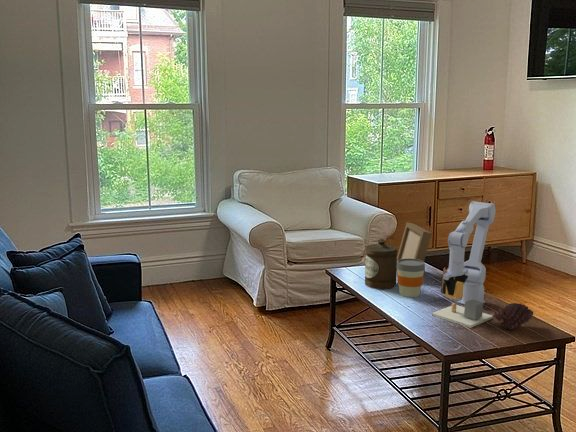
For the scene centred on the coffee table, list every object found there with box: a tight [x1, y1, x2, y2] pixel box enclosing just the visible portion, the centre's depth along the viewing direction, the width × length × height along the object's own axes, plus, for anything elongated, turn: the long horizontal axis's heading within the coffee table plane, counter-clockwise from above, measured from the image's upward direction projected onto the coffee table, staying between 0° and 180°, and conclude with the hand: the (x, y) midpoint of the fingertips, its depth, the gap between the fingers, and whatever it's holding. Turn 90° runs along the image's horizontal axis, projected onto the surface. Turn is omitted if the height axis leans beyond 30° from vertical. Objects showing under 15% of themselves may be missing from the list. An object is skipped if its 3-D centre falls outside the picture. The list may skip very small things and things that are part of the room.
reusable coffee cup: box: [396, 258, 426, 298], centre depth 275 cm, size 13×13×15 cm
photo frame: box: [397, 222, 433, 275], centre depth 302 cm, size 15×22×25 cm
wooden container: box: [364, 238, 398, 290], centre depth 288 cm, size 15×15×22 cm
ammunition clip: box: [440, 266, 455, 295], centre depth 278 cm, size 11×2×12 cm, turn 104°
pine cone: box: [492, 302, 534, 330], centre depth 235 cm, size 18×10×10 cm, turn 110°
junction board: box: [431, 300, 494, 329], centre depth 247 cm, size 16×18×8 cm
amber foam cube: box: [445, 281, 464, 300], centre depth 249 cm, size 5×5×6 cm
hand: (454, 293), depth 249 cm, fingers closed on amber foam cube, 5 cm apart
